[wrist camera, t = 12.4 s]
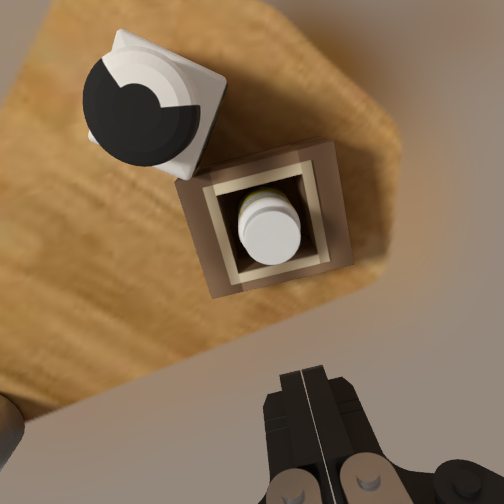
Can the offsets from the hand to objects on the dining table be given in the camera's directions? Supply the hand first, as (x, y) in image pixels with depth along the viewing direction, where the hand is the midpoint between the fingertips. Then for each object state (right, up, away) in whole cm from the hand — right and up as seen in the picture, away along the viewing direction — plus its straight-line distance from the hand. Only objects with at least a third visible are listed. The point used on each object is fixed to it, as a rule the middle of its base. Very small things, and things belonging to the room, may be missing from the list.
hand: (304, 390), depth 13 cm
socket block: (-1, +8, +21) cm, 23 cm away
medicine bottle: (-8, +16, +18) cm, 26 cm away
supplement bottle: (-1, +9, +21) cm, 23 cm away
